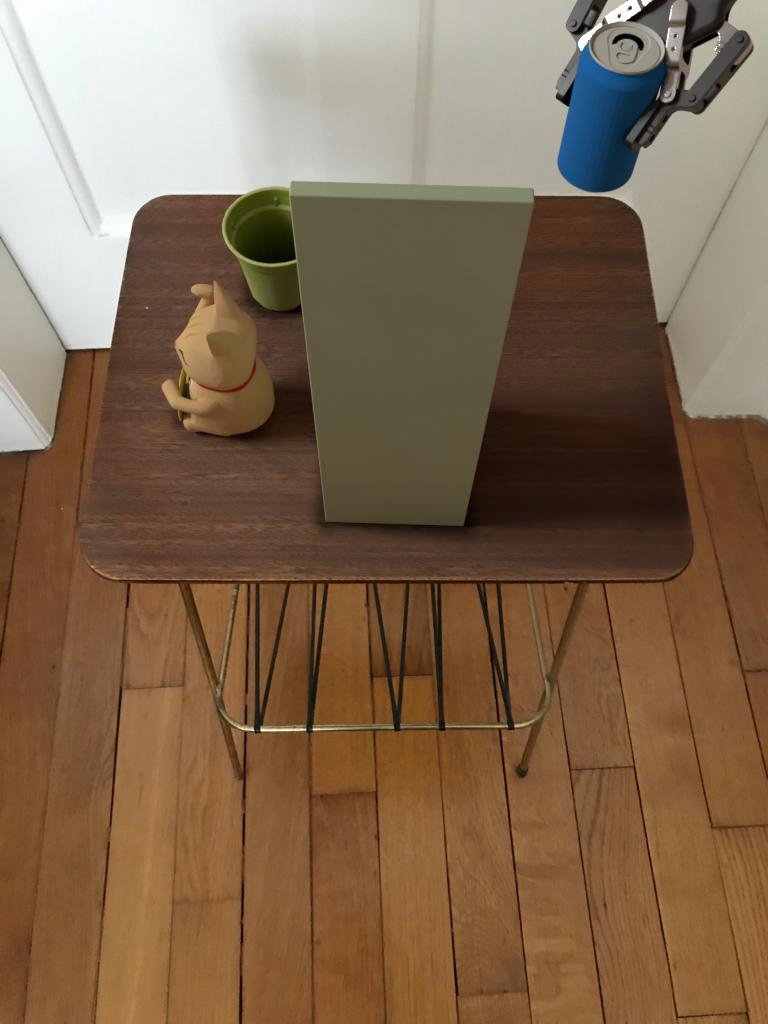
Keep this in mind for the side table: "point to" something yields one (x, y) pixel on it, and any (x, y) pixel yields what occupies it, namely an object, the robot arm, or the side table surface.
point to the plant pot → (265, 246)
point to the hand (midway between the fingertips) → (596, 124)
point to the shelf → (404, 337)
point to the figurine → (220, 369)
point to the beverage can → (609, 105)
